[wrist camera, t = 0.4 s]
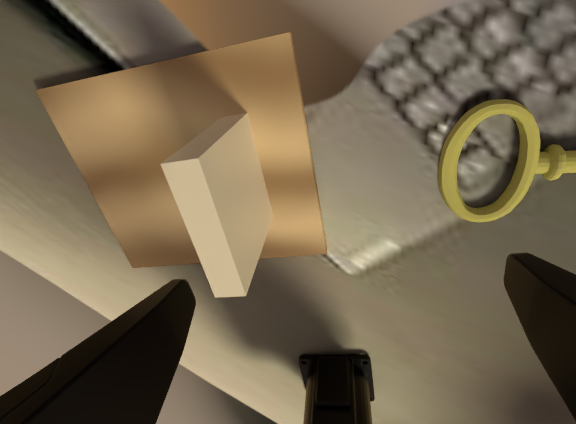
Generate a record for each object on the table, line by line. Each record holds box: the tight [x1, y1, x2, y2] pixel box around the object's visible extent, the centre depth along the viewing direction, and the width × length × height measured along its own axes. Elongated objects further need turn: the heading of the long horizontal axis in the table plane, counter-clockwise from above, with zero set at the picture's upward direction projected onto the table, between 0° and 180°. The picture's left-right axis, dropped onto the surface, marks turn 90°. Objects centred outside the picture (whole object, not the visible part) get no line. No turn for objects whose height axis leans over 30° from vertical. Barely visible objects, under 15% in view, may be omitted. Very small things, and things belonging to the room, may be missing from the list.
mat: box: [36, 32, 327, 268], centre depth 21 cm, size 14×16×1 cm
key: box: [438, 99, 576, 222], centre depth 17 cm, size 7×12×2 cm, turn 116°
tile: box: [160, 113, 273, 298], centre depth 17 cm, size 7×2×8 cm, turn 11°
